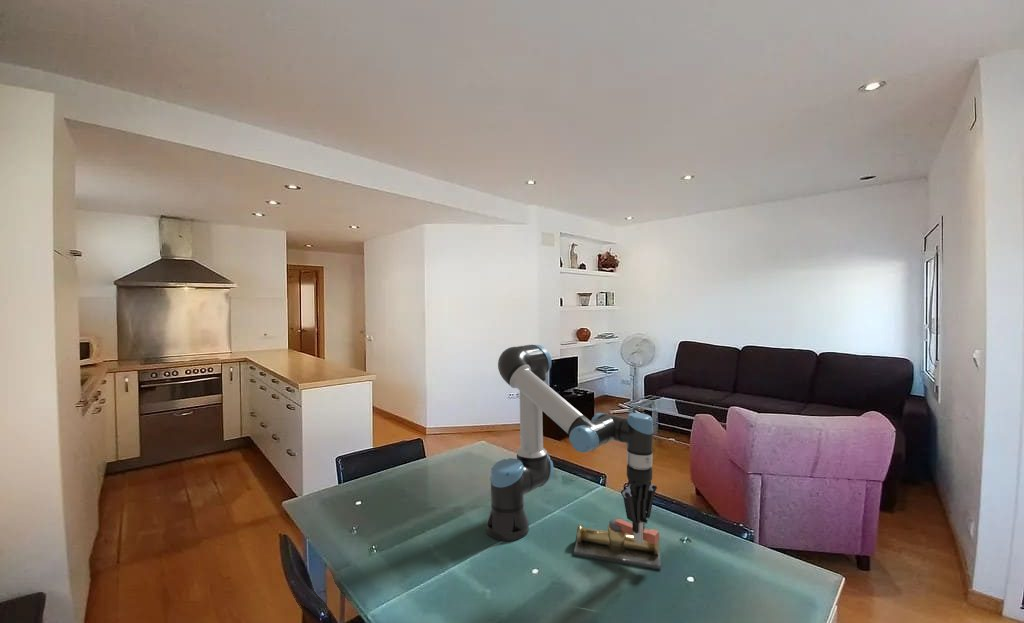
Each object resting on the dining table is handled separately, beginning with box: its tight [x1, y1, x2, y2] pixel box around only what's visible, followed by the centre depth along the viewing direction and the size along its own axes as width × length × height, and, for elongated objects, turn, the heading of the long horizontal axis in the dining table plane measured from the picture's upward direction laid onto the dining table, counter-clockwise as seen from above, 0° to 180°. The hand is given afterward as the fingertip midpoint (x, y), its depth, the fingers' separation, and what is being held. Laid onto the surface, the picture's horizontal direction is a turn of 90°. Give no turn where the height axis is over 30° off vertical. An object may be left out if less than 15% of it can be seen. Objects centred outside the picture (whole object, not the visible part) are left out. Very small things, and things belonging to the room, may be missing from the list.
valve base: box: [573, 524, 662, 571], centre depth 133 cm, size 26×14×7 cm, turn 73°
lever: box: [608, 518, 660, 545], centre depth 129 cm, size 5×16×3 cm, turn 47°
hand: (638, 541), depth 126 cm, fingers closed
